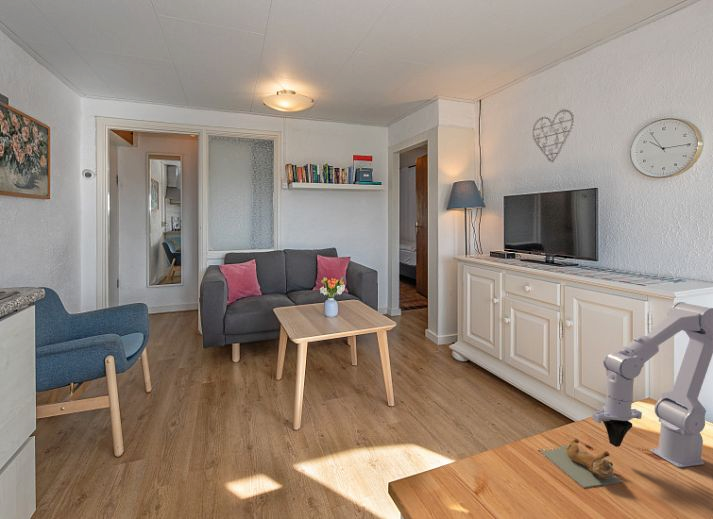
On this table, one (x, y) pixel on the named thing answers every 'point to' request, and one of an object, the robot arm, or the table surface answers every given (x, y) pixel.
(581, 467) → the mat
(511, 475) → the table surface
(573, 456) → the lion figurine
